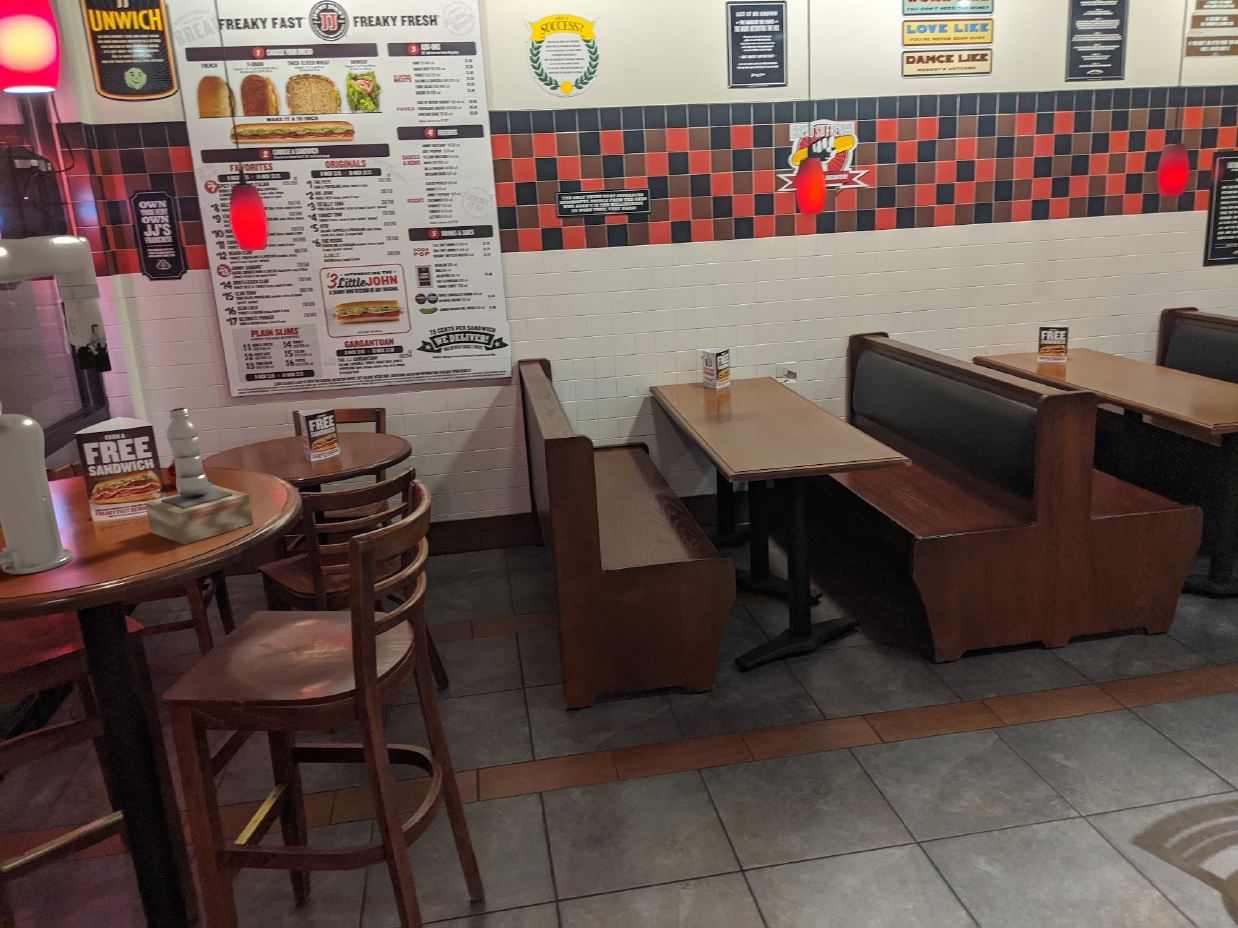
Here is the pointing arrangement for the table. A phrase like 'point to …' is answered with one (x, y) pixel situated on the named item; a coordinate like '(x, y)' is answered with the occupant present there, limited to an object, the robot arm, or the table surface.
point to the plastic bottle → (186, 454)
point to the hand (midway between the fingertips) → (95, 370)
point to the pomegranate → (172, 472)
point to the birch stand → (199, 514)
